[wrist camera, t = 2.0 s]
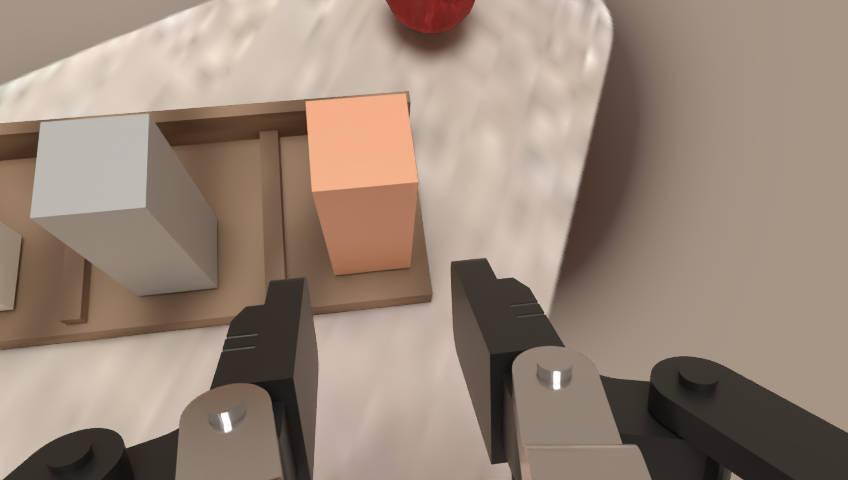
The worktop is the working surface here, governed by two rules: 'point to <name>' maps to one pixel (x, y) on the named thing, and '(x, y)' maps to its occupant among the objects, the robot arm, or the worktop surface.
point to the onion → (430, 13)
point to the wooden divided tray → (236, 233)
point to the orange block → (363, 180)
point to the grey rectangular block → (125, 203)
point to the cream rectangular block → (8, 265)
